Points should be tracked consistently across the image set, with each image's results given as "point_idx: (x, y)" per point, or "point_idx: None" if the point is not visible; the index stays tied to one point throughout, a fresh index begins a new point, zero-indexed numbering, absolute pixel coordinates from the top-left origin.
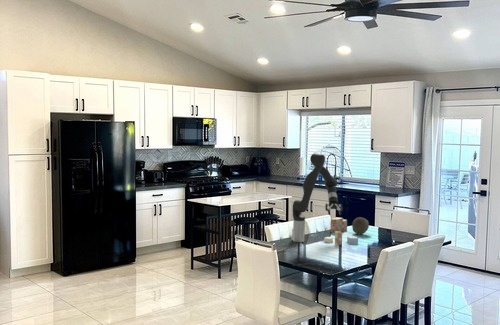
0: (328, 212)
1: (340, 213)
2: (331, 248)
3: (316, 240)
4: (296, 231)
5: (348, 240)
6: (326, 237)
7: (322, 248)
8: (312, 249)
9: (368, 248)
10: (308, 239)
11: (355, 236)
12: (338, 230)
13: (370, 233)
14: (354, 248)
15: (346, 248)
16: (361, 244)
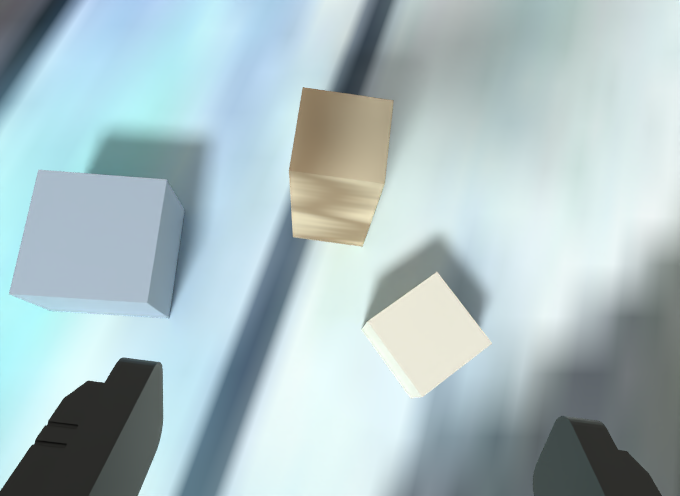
0: (658, 491)
1: (125, 361)
2: (463, 33)
3: None
4: None
5: (170, 242)
6: (458, 351)
7: (556, 38)
8: (659, 9)
9: (55, 12)
10: (670, 487)
11: (15, 285)
12: None
13: None
14: (214, 20)
15: (302, 25)
16: None
